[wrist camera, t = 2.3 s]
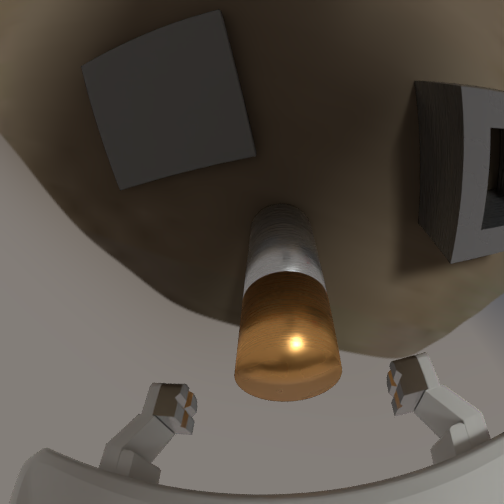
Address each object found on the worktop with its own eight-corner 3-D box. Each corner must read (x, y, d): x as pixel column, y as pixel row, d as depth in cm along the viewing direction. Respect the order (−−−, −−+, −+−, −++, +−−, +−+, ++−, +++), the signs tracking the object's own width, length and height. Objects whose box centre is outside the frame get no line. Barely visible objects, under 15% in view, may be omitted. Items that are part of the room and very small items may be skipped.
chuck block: (414, 80, 13) (461, 86, 8) (514, 93, 11) (559, 107, 7) (418, 223, 18) (450, 263, 14) (507, 209, 16) (542, 240, 12)
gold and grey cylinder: (244, 209, 18) (220, 352, 9) (306, 199, 18) (343, 338, 8) (257, 260, 20) (247, 404, 11) (313, 251, 20) (340, 394, 11)
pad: (87, 66, 13) (81, 66, 12) (221, 12, 11) (219, 9, 11) (125, 185, 18) (120, 190, 17) (256, 152, 16) (255, 156, 15)
